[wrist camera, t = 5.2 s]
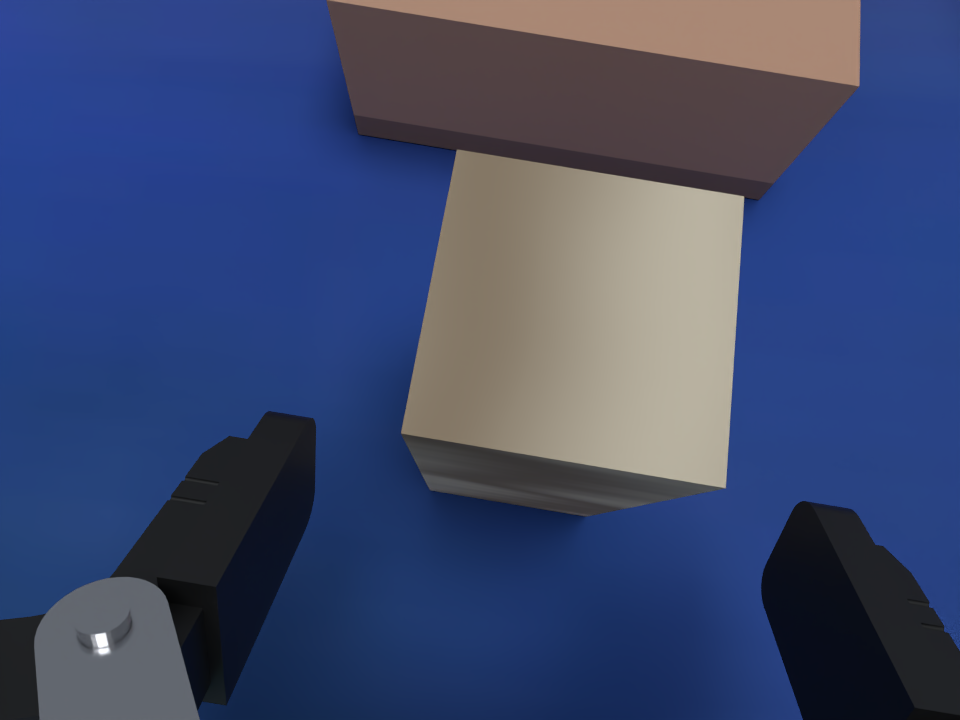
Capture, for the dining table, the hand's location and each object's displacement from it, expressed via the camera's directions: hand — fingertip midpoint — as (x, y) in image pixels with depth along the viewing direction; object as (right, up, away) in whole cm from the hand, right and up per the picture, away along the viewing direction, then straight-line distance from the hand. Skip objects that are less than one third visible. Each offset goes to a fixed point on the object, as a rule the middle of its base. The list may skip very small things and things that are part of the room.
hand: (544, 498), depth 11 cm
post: (0, 0, +8) cm, 8 cm away
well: (+3, +15, +12) cm, 19 cm away
